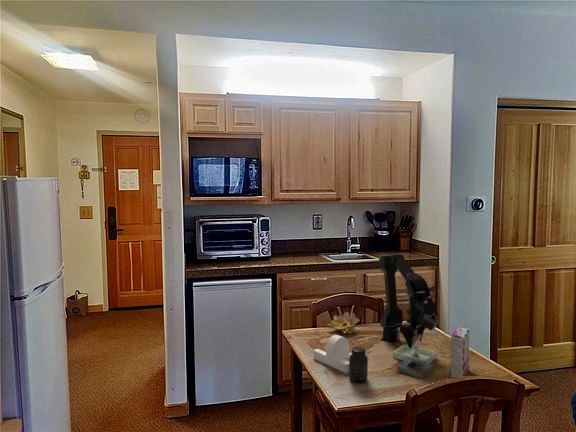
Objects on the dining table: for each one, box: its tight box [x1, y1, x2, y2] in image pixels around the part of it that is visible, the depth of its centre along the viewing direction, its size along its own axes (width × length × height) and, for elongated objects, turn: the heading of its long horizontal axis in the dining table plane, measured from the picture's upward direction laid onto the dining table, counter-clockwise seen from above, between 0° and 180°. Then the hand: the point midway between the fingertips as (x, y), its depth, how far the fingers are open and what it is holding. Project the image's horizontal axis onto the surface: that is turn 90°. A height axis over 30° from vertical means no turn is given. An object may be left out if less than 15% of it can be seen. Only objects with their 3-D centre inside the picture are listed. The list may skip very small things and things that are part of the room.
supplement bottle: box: [348, 345, 369, 385], centre depth 154 cm, size 7×7×12 cm
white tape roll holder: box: [313, 334, 352, 374], centre depth 170 cm, size 18×10×11 cm, turn 41°
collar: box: [396, 358, 433, 380], centre depth 163 cm, size 10×10×2 cm
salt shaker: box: [410, 333, 421, 358], centre depth 174 cm, size 5×5×10 cm
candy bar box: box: [450, 326, 470, 379], centre depth 160 cm, size 11×5×16 cm, turn 148°
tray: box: [392, 343, 437, 365], centre depth 175 cm, size 14×11×2 cm
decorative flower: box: [326, 311, 361, 334], centre depth 206 cm, size 15×11×10 cm
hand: (414, 344), depth 174 cm, fingers open, 9 cm apart
